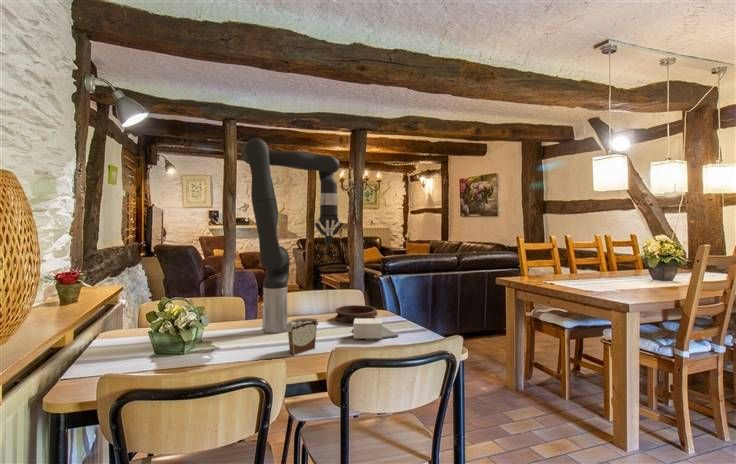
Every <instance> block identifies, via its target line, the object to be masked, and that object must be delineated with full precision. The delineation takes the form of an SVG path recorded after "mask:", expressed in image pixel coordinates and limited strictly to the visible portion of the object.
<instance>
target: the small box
mask: <svg viewBox="0 0 736 464" xmlns="http://www.w3.org/2000/svg"><path fill="white" fill-rule="evenodd" d="M382 326H383V320H382V318H377V317H376V318H374V317H373V318H369V319H354V323H353V329H354V332H353V339H363V338H382Z"/></svg>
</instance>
